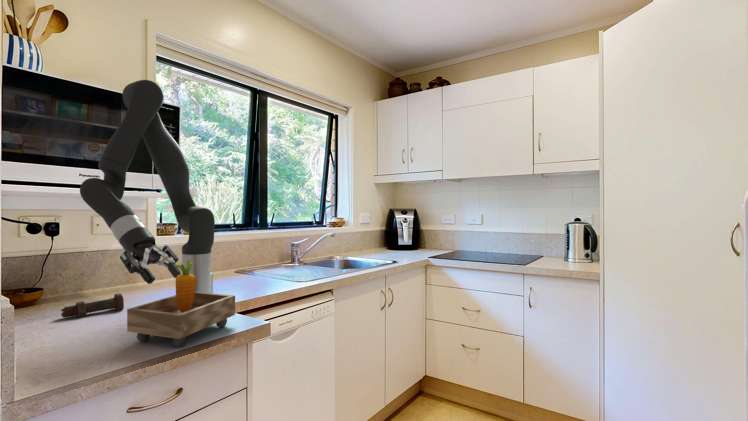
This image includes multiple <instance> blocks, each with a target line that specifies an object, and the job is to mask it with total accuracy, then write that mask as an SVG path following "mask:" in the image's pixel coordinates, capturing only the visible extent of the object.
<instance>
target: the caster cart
mask: <svg viewBox="0 0 748 421" xmlns="http://www.w3.org/2000/svg"><path fill="white" fill-rule="evenodd" d="M126 314H127V315H126V321H127V323H126V327H127V328H126V332H129V333H136V339H137V341H139V342H143V343H144V342H145V343H146V342H147V341H148V340H149V339H151V336H157V337H161V338H162V337H164V338H169V339H170V338H171V339H172V345H173V347H177V348H182V347H184V345H185V344H186V342H187V337H189V336H190V335H192V334H195V333H198V332H199V331H201V330H203V329H207V328H209V327H211V326H213V325H216V326H217V327H218V328H224V327H226V326H227V323H228V319H229V318H230V317H234V316H235V315H236V295H234V294H223V293H214V292H213V293H204V292H195V296H194V301H193V305H192V307H191V309H190V310H189V311H186V312H183V313H181V312H180V310H179V307H178V303H177V298H176V294H174V295H171V296H167V297H165V298H161V299H157V300H154V301H151V302H148V303H143V304H141V305H137V306H134V307H130V308H127V309H126Z"/></svg>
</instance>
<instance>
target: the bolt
mask: <svg viewBox="0 0 748 421" xmlns="http://www.w3.org/2000/svg"><path fill="white" fill-rule="evenodd" d="M124 307H125V302H124V296H123V294H122V293H114V296H113V297H111V298H108V299H102V300H97V301H91V302H85V301H84V300H82V301H77V302H76V303H75V304H74V305H70V306H64V307H63V308H62V309H61V310H60V311H61V314H60V316H61V317H62V318H64V319H65V318H71V317H75V316H76V317H77V318H82V317H84V318H85V317H86V316H87V314H91V313H96V312H102V311H106V310H114V309H115V310H116V311H118V312H120V311H123V309H124Z"/></svg>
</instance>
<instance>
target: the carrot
mask: <svg viewBox="0 0 748 421" xmlns="http://www.w3.org/2000/svg"><path fill="white" fill-rule="evenodd" d="M176 266H177V267H178V268H179V270H180V271H181V274H180V275H178V276H177V277H176V278H175V295H176V298H177V303H178V307H179V310H180V312H181V313H183V312H186V311H189V310H190V309H191V307H192V305H193V301H194V296H195V289H196V276H194V275H193V274H189V272H190V268H191V266H192V263H191V260H187V267H186V269H185V267H184V264H183V263H182V262H181V263H180V264H178V263H177V264H176ZM182 273H183V274H182Z"/></svg>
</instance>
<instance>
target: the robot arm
mask: <svg viewBox="0 0 748 421" xmlns="http://www.w3.org/2000/svg"><path fill="white" fill-rule="evenodd" d="M164 94H165V93H164V91H163V89H162V87H161V86H160V85H159V84H157V83H156V82H154V81H153V80H149V79H139V80H136V81H134V82H130V83H128V84H127V85H126V86H125V87H124V88H123V90H122V95H121V96H122V100H123V103H124V105H125V107H126V109H127V111H126V113H125V116H124V118H123V119H122V120H121V123H120V124H119V126H118V127H117V129H116V130H115V131H114V133H113V134H112V136H111V137H110V139H109V141H108V142H107V144H106V145H105V148H104V150H103V152H102V155H101V157H100V159H99V161H98V165H97V166H98V169H99V170H100V171H102V173H103V179H101V178H98V177H90V178H87V179H85V180H84V181H83V182H82V183H81V184H80V187H79V194H80V197H81V199H82V200H83V201H84V203H86V205H88V206H89V208H90V209H92V210H93V211H94V212H95V213H96V214H98V215H99V216H100V217H101V218H102V219H103V221H104V222H105V223H106V225H107V226H108V228H109V230H110V231H111V233H112V235H113V236H114V238H115V239H116V240H117V242H118V244H119V245H120V246H121V247H122V249H123V250H124V251H123V253H121V255H119V258H120V261H121V262H122V264H123V265H124V267H125V269H127V271H128V273H129V274H134V273H136V275H137V274H138V275H139V276H140V277H141V278H142V279H143V281H144V282H146V283H147V284H148V285H151V284H153V283H154V282H155V281H156V277H155V276H154V274H153V273H152V272H151V270H150V269H149V268H147V266H149V265H155V264H156V265H158V266H163V267H165V268H167V270H168V272H169V273H170V274H171V275H172V277H173V278H174V279H176V277H177V276H178V275H180V274H183V273H182V271H181V269H180V268H179V267H177V264H176V263H178V261H179V260H180V259H179V257H178V256H177V254H176V253H175V252H174V251H173V250H172V248H170V246H169V245H167V244H165V245H164V246H163V247H159V246H158V245H157V244H156V238H155V237H154V236H153V234H152V233H151V231H150V230H149V229H148V227H147V226H146V225H145V224H144V222H143V221H142V220H141V219H140V218H139V217H138V216H137V214H136V213H135V212H134V210H133V209H132V208H131V207H130V206H129V204H127V203H125V201H123V200H122V198H123V196H124V194H125V188H126V181H127V171H128V169H129V168H130V165H131V162H132V160H133V158H134V155H135V153H136V150H137V148H138V146H139V145H140V142H141V140H143V141H144V144H145V146H146V149H147V152H148V153H149V156H150V158H151V160H152V162H153V165H154V168H155V170H156V172H157V175H158V176H159V178H160V180H161V183H162V184H163V187H164V190H165V191H166V193H167V194H166V195H167V196H168V198H169V200H170V203H171V204H170V205H171V207H172V210H173V213H174V216H175V220H176V222H177V224H178V226H179V228H180V229H181V230H182V231H183V232H186V233H188V240H187V242H186V243H185V244H183V245H182V246H181V263H183V264H184V267H185V269H186V267H187V260H191V263H192V266H191V268H190V272H189V274H193V275H194V276H196V289H195V292H204V293H214V273H213V272H212V248H213V246H214V243H215V242H214V240H215V228H216V227H215V226H216V221H215V215H214V214H213V212H212V210H211V209H209V208H208V207H203V206H197V204H196V203H195V201H194V199H193V197H192V195H191V190H190V168H189V165H188V162H187V160H186V158H185V155H184V152H183V151H182V148H181V147H180V145H179V144H178V143H177V142H176V140H175V138H174V137H173V136H172V135H171V134H170V132H169V131H168V130H167V128H166V127H165V126H164V124H163V121H162V119H161V116H160V114H159V110H160V109H161V107H162V105H163V104H164V100H165V95H164ZM161 258H162V259H161ZM167 262H168V263H167Z"/></svg>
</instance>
